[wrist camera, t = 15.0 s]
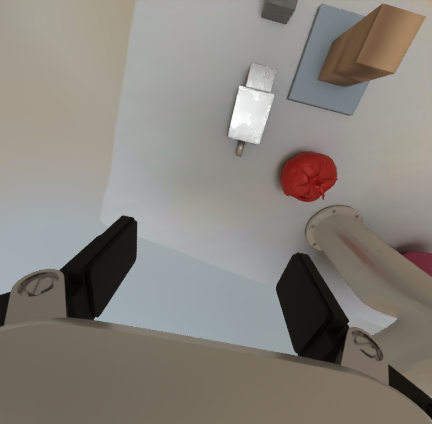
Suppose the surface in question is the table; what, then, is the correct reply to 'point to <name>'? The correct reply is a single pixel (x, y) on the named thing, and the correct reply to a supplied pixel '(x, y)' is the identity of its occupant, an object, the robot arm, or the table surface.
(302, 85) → the pad
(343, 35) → the walnut peg
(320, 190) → the pomegranate
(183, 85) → the table surface
